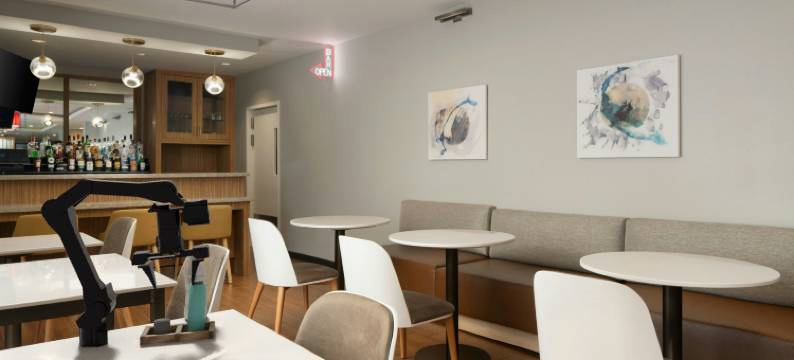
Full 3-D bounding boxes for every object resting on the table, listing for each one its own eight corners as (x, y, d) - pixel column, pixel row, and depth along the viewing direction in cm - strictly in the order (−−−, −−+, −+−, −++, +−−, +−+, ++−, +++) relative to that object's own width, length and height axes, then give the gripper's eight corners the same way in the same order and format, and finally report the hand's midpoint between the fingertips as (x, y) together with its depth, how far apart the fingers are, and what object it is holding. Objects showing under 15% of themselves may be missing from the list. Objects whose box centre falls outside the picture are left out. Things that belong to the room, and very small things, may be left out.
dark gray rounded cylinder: (150, 338, 146) (150, 321, 146) (163, 334, 149) (163, 317, 149) (160, 340, 144) (160, 323, 144) (173, 336, 147) (173, 319, 147)
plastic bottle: (192, 326, 160) (191, 256, 159) (179, 321, 164) (178, 253, 163) (212, 320, 165) (211, 253, 164) (198, 316, 169) (197, 250, 168)
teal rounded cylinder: (183, 334, 148) (185, 281, 149) (195, 331, 152) (197, 280, 153) (195, 335, 146) (198, 282, 147) (207, 333, 150) (210, 280, 151)
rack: (140, 349, 141) (139, 337, 141) (145, 337, 150) (145, 326, 150) (213, 342, 146) (213, 331, 145) (215, 331, 155) (214, 320, 154)
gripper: (208, 221, 156) (213, 276, 157) (136, 228, 151) (141, 285, 152) (206, 226, 145) (211, 285, 146) (128, 233, 140) (133, 294, 141)
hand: (174, 287), depth 147 cm, fingers open, 9 cm apart
